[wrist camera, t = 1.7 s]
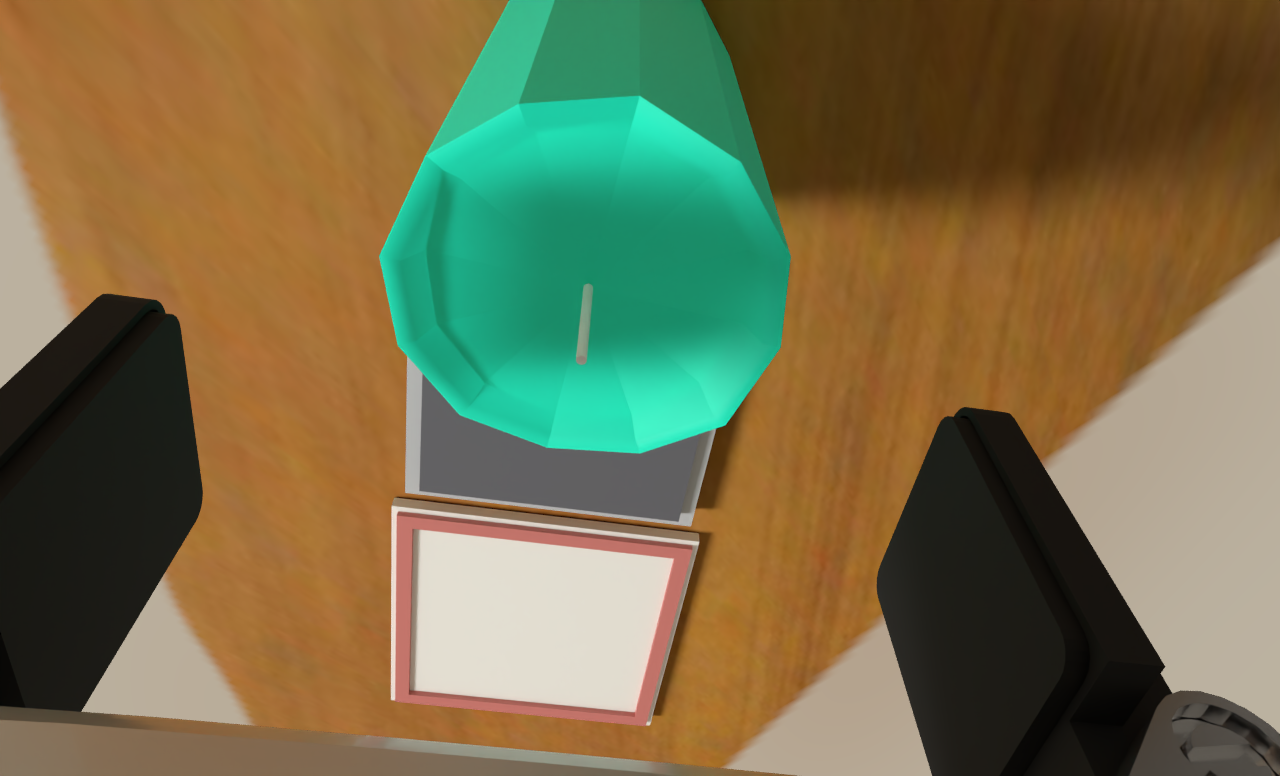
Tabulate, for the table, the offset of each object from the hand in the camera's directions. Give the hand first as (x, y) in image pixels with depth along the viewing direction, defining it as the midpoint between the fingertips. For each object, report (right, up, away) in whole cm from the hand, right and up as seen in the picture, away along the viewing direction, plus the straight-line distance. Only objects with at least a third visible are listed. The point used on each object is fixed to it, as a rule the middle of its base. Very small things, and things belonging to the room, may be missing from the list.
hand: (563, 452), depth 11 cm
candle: (0, +8, +11) cm, 13 cm away
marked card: (-3, -7, +21) cm, 23 cm away
